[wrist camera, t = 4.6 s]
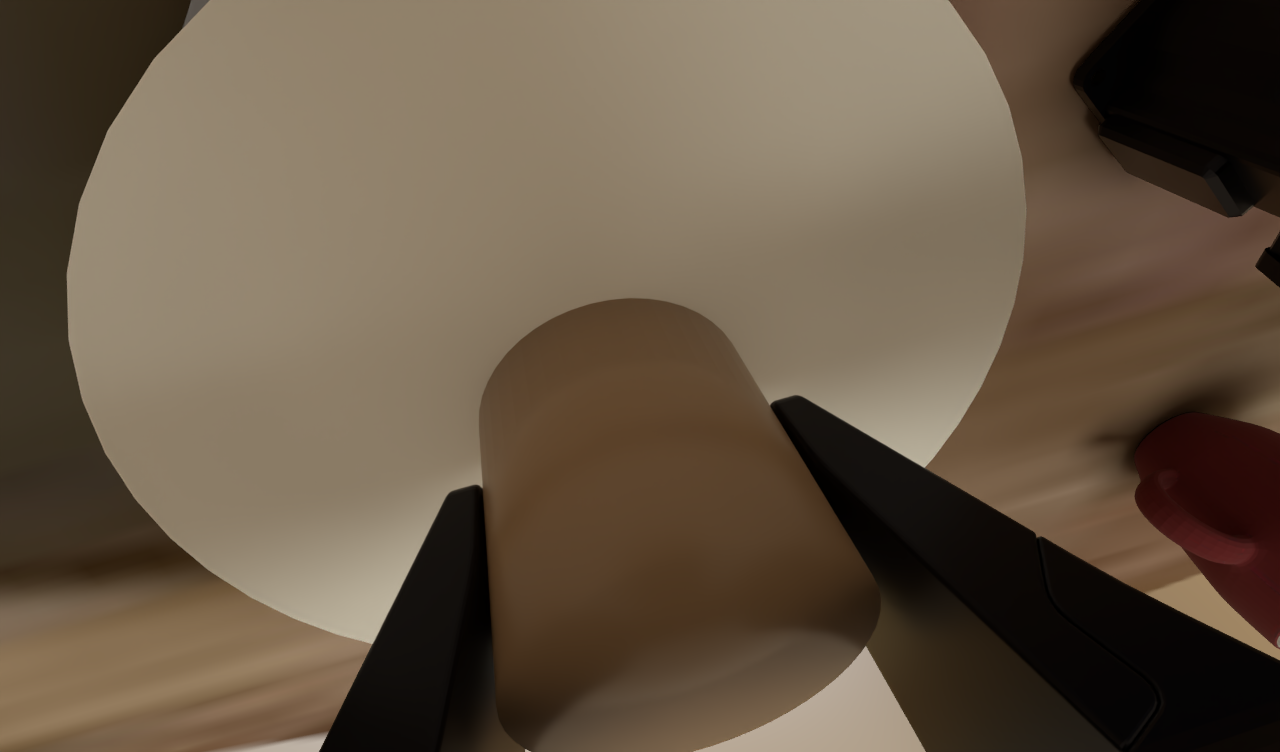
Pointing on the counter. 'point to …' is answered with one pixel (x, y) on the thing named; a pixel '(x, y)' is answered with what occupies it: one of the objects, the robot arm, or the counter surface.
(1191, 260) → the counter surface
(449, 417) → the lid
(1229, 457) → the mug
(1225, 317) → the counter surface
